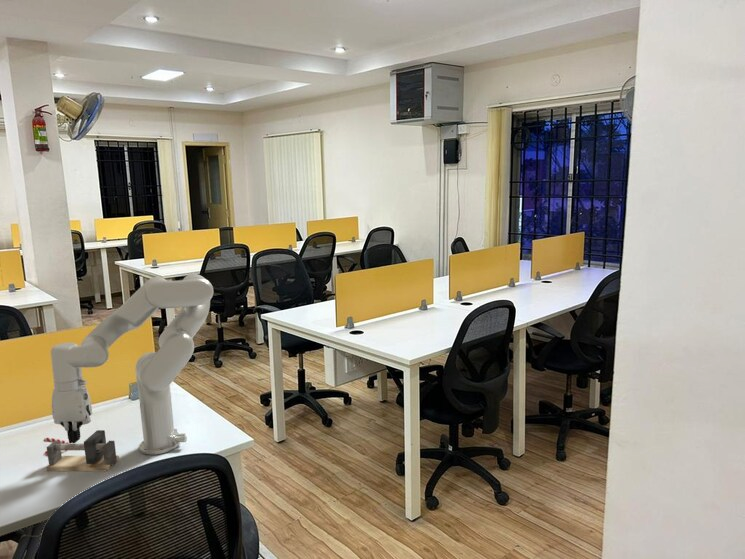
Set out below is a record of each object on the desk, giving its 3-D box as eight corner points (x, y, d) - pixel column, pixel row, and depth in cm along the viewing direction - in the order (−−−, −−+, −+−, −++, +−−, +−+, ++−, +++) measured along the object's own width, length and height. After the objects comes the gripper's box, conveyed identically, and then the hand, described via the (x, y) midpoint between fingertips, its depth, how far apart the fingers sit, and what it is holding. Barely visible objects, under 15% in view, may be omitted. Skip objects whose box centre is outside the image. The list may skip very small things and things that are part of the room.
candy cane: (55, 433, 188) (75, 445, 179) (56, 437, 188) (75, 449, 179) (30, 442, 182) (49, 455, 173) (31, 446, 182) (50, 459, 173)
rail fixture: (119, 459, 171) (116, 438, 170) (107, 470, 164) (105, 449, 163) (60, 459, 172) (57, 438, 171) (46, 471, 165) (43, 449, 164)
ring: (107, 451, 171) (104, 430, 170) (94, 464, 164) (91, 441, 162) (99, 451, 171) (97, 430, 170) (86, 464, 164) (83, 441, 163)
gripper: (99, 379, 167) (104, 435, 170) (51, 379, 167) (57, 435, 170) (86, 389, 159) (92, 447, 163) (36, 388, 160) (42, 446, 163)
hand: (74, 441), depth 166 cm, fingers closed
